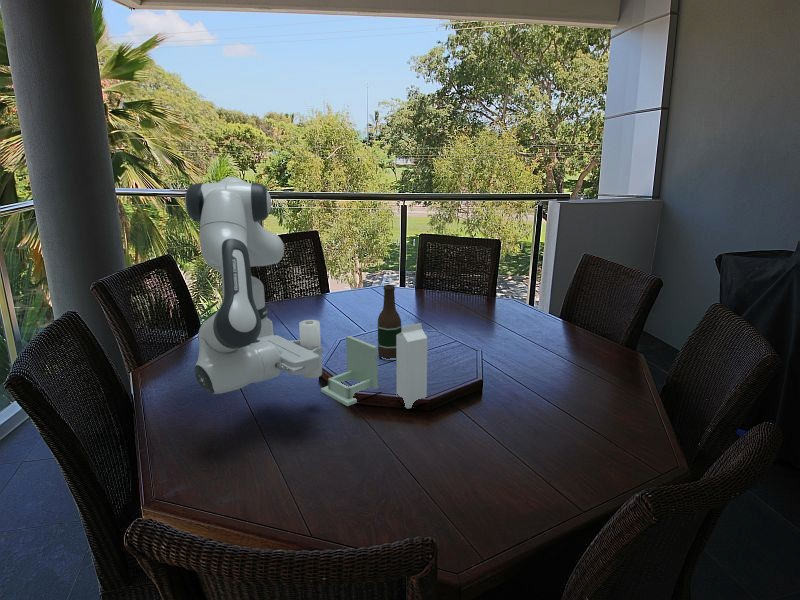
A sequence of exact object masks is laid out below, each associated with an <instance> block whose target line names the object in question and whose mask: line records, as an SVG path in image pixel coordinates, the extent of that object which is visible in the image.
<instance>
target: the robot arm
mask: <svg viewBox="0 0 800 600" xmlns="http://www.w3.org/2000/svg"><path fill="white" fill-rule="evenodd" d="M184 207H185V210H186V213H187V215H188V217H189V218H190V219H191V220H192V221H193V222H196V223H199V224H200V225H199V244H200V245H199V247H200V251H201V257H202V259H203V260H204V262H205V263H206V264H207V265H208V266H209V267H211V268H213V269H214V270H216V271H217V272H218V273H219V274H220V275H221V282H222V283H221V284H222V301H221V304H220V307H219V308H218V310H217V311H216V312H215V313H214V314H212V315H210V317H208V318H207V319H206V320H205V321H204V322H202V324H201V325H200V327H199V329H198V332H197V338H198V342H199V343H198V344H199V345H198V346H199V349H198V358H197V361H196V364H195V365H194V375H195V379H196V381H197V382H198V385H199V386H200V387H201V388H202V390H204V391H205V392H206V393H209V394H211V395H212V394H213V395H218V394H225V393H229V392H233V391H235V390H236V391H237V390H239V389H242V388H245V387H246V386H248V385H249V384H252V383H261V382H263V381H267V380H269V379H273V378H277V377H278V376H280V374H281V371H283V372H284V373H286V374H289V375H290V376H291V375H292V376H299V375H300V376H301V375H302V374H305V373H309V372H312V371H316V370H318V369H319V368H320V356H319V355H320V354H321V355H322V354H323V352H324V348H323V347H322V346H321V347H320V346H317V347H314V349H313V350H307V349H305V348H303V347H301V346H300V339H299V340H297V339H295V340H288V339H286V338H284V337H282V336H280V335H278V334H274V327H273V326H274V325H273V321H272V320H271V319H270V318H268V308H267V305H266V300H265V285H264V284H263V282H262V281H261V280H260V279H259V278H257V277H256V276H252V273H251V267H266V266H270V265H271V266H272V265H274V264H275V265H276V264H279V262H281V260H282V259H283V257H284V254H285V245H284V242H283V240H282V239H281V237H280V236H279V235H278V234H276V233H274V232H272V231H271V232H270V231H269V230H268V229H266V228H264V227H263V226H262V225H261V224H260V223H259V222H263V221H266V219H267V218H268V217H269V214H270V212H271V208H272V197H271V195H270V192H269V191H268V188H267V187H266V186H265V185H264V184H262V183H258V182H254V181H252V182H246V181H244V180H243V179H242V178H239V177H236V176H228V177H224V178H222V179H220V180H219V181H217V182H208V183H203V182H198V183H194V184H191V185H190V186H189V187H188V188H186V191H185V196H184Z"/></svg>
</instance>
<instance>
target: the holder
mask: <svg viewBox="0 0 800 600" xmlns="http://www.w3.org/2000/svg"><path fill="white" fill-rule="evenodd" d="M345 340H346V344H345V345H346V368H347V369H346V370H347V371H345V372H343V373H340V374H337V375H334V376H332V377H329V378H327V385H326V386H324V387H321V388H320V392H321V393H323V394H325V395H326V396H328V397H329V398H331V399H334V400H335V401H337V402H338V403H341V404H342V405H345V406H346V407H349V406H352V405H354V404H358V402H357V399H356V398H353V396H354V394H355V393H356V392H359V391H361V390H365V389H367V388H370V387H372V388H374V389H376V388H379V382H378V381H379V379H378V376H379V375H378V374H379V373H378V372H379V371H378V345H373V344H371V343H368V342H366V341H363V340H361V339H359V338H356V337H354V336H352V335H347V336H345ZM351 379H355V380H357V381H359V382H360V383H357V384H355V385H352V386H349V387H348V386H346V385H344V384H342V383H341V382H343V381H348V380H351Z"/></svg>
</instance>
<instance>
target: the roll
mask: <svg viewBox="0 0 800 600" xmlns="http://www.w3.org/2000/svg"><path fill="white" fill-rule="evenodd" d="M298 326H299V327H298V329H299V331H298V333H299V340H300V346H301V347H303V348H305V349H307V350H313V349H314V347H317V346H320V347H322V343H321V342H322V341H321V340H322V339H321V338H322V337H321V336H322V335H321V322H320V321H319V320H317V319H304V320H301V321H300V322H299V323H298ZM319 356H320V368H319V369H318V370H316V371H312V372H309V373H305V374H301V376H302V377H303V378H305V379H316V378H319V377H321V376H322V375H323V365H322V364H323V363H322V360H323V359H322V354H320V355H319Z"/></svg>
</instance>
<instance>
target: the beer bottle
mask: <svg viewBox="0 0 800 600" xmlns="http://www.w3.org/2000/svg"><path fill="white" fill-rule="evenodd" d="M382 288H383V290H384V291H383V307H382V310H381V312H380V313H379V315H378V318H377V355H378V354H379V355H378V357H379V356H380V357H383V358H386V359H390V358H396V335H397V334H399V333H401V332H402V319H401V317H400V314H399V312H398V311H397V309H396V297H395V290H396V287H395V285H393V284H386V285H383V287H382ZM380 357H379V358H380Z"/></svg>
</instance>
